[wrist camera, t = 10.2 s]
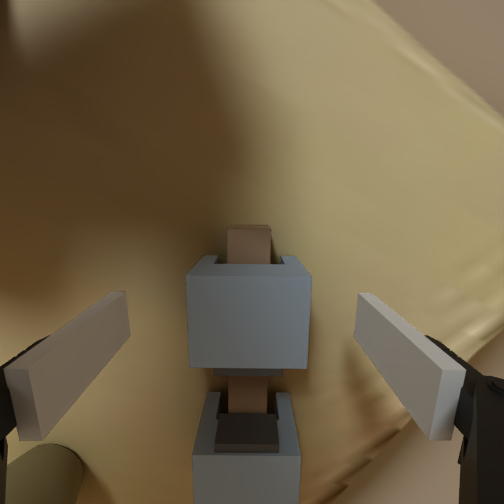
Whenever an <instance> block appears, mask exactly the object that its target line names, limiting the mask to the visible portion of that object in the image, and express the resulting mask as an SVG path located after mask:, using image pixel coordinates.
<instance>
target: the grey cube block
mask: <svg viewBox="0 0 504 504" xmlns="http://www.w3.org/2000/svg"><path fill="white" fill-rule="evenodd" d="M185 277H186V302H187V326H188V351H189V368H214V376H282V372H283V369H307V359H308V340H309V322H310V304H311V286H312V276H311V275H310V274H309V272H308V271H307V270H306V269H305V267H304V266H303V265H302V263H301V262H300V261H299V260H298V258H297V257H296V256H281V263H280V264H219V255H204V256H203V257H202V258H201V259H200V260H199V261H198V262H197V263H196V265H195V266H194V267H193V268H192V269H191V270H190V271H189V272H188V273H187V274H186V276H185Z"/></svg>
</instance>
